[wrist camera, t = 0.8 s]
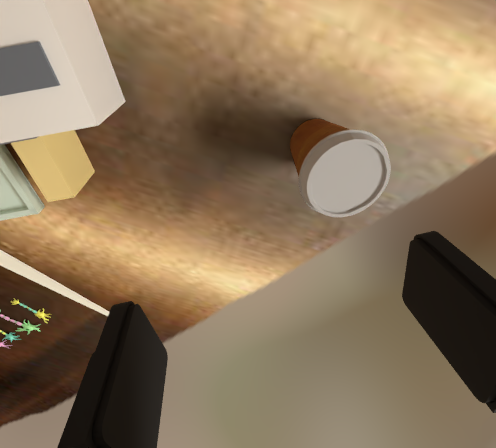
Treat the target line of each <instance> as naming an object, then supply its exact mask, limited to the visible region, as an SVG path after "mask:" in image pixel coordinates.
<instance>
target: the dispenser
mask: <svg viewBox="0 0 496 448" xmlns="http://www.w3.org/2000/svg"><path fill="white" fill-rule="evenodd" d="M124 103H125V99H124V97H123V94H122V91H121V88H120V86H119V83H118V80H117V78H116V75H115V72H114V70H113V67H112V64H111V61H110V59H109V56H108V53H107V51H106V48H105V45H104V42H103V40H102V37H101V34H100V32H99V29H98V26H97V24H96V21H95V18H94V15H93V13H92V10H91V7H90V5H89V2H88V0H0V145H3V144H8V143H13V142H19V141H24V140H30V139H35V138H37V137H39V136H44V135H49V134H55V133H60V132H66V131H71V130H76V129H82V128H87V127H93V126H98V125H99V124H101V123H102V122H103V121H104V120H105V119H106V118H107V117H109V116H110V115H111V114H112V113H113V112H114V111H116V110H117V109H118V108H119V107H120V106H121V105H122V104H124Z"/></svg>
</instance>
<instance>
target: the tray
mask: <svg viewBox="0 0 496 448" xmlns="http://www.w3.org/2000/svg"><path fill="white" fill-rule="evenodd" d="M44 207H45V206H44V204H43V203H42V201H41V200H40V198H39V197H38V195H37V193H36V192H35V190H34V189H33V187H32V186H31V184H30V183H29V181H28V180H27V178H26V176H25V175H24V173H23V172H22V170H21V169H20V167H19V166H18V164H17V163H16V161H15V160H14V158H13V156H12V155H11V153H10V152H9V150H8V149H7V147H6V146H5V144H3V145H0V221H1V220H6V219H12V218H17V217H23V216H28V215H33V214H39V213H40V211H41V210H42V209H43V208H44Z"/></svg>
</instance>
